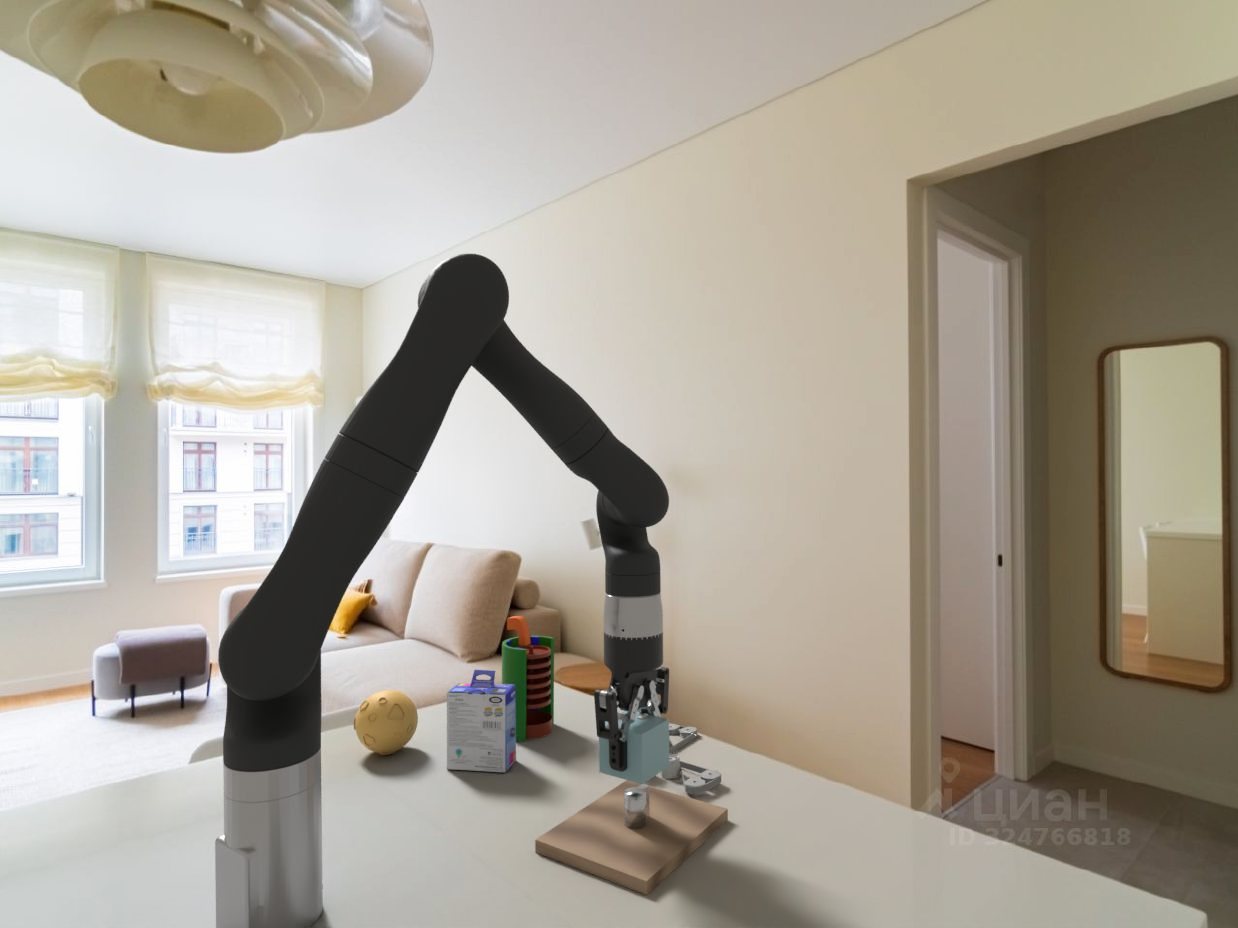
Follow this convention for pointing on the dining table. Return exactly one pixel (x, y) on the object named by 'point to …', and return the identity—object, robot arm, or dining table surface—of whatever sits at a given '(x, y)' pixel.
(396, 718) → the stress ball
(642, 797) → the shaft
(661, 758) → the mini blue cabinet
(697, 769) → the pulley system
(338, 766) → the dining table surface
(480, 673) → the ink cartridge box
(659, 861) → the mounting plate
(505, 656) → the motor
